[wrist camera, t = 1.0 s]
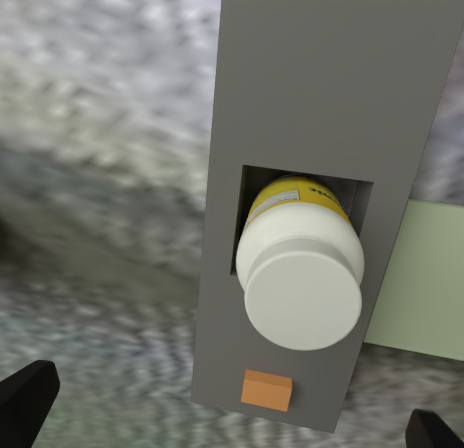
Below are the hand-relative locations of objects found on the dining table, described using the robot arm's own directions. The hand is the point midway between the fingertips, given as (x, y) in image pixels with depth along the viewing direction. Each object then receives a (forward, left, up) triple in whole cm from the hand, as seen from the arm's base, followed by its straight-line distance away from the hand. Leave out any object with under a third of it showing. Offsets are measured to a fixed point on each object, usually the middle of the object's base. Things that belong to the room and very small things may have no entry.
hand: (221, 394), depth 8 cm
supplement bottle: (-2, -1, -14) cm, 14 cm away
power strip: (-2, -1, -13) cm, 14 cm away
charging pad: (-13, +2, -13) cm, 19 cm away
